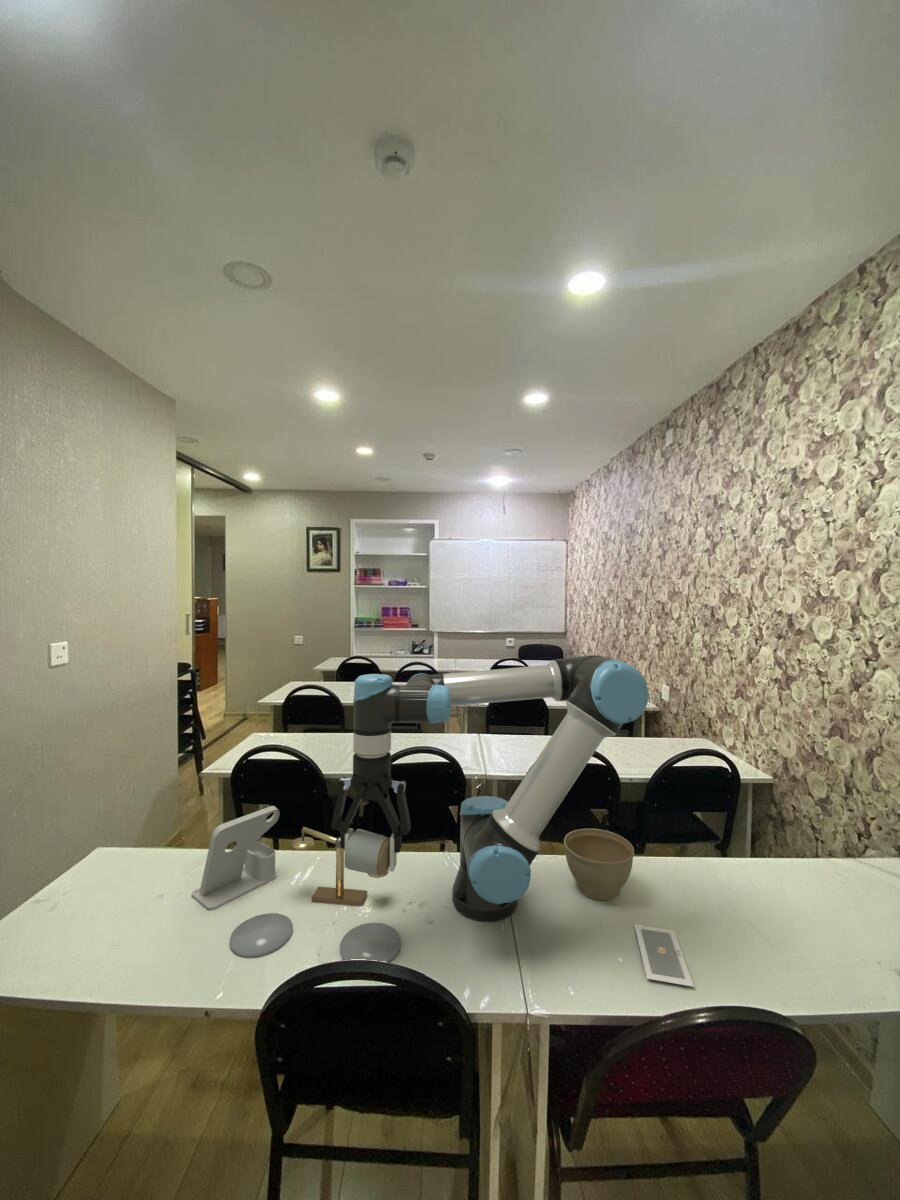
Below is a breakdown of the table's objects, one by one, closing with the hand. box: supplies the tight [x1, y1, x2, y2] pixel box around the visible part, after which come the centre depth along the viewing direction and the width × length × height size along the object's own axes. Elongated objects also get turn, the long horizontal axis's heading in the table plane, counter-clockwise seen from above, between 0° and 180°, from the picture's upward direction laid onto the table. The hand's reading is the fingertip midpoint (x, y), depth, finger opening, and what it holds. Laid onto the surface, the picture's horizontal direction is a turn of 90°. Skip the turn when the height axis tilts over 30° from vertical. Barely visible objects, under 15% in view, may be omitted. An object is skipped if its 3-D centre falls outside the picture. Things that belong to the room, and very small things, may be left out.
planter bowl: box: [563, 828, 635, 901], centre depth 114 cm, size 16×16×11 cm
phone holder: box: [191, 805, 280, 912], centre depth 114 cm, size 17×10×18 cm, turn 143°
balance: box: [291, 826, 390, 907], centre depth 110 cm, size 23×5×16 cm, turn 83°
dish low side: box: [339, 922, 402, 963], centre depth 94 cm, size 12×12×1 cm
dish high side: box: [229, 912, 294, 959], centre depth 97 cm, size 12×12×1 cm
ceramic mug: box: [344, 828, 390, 875], centre depth 96 cm, size 10×8×7 cm
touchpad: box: [634, 924, 695, 988], centre depth 92 cm, size 8×15×2 cm, turn 167°
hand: (370, 865), depth 94 cm, fingers closed on ceramic mug, 8 cm apart
